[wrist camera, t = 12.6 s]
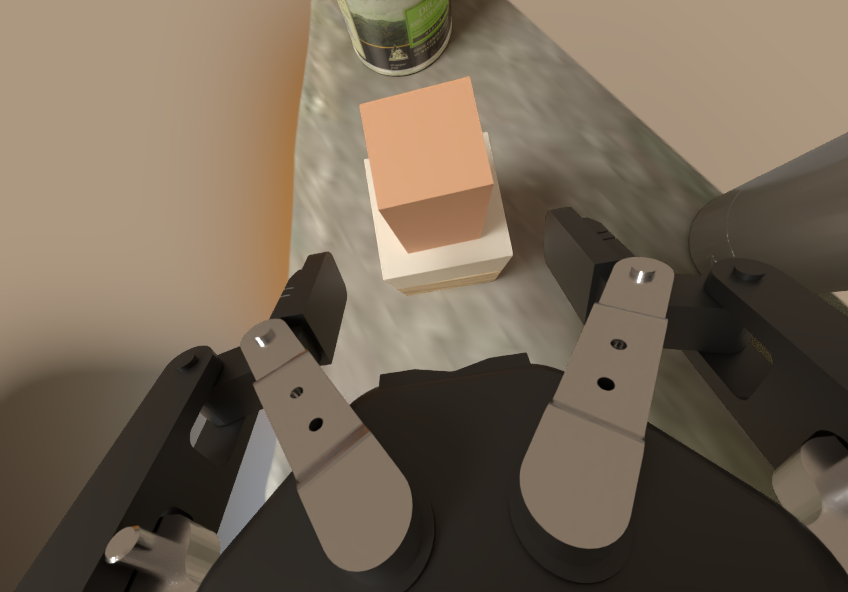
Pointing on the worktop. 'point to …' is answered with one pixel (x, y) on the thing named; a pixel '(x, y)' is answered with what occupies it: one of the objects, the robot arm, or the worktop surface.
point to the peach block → (429, 164)
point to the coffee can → (398, 32)
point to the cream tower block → (446, 259)
